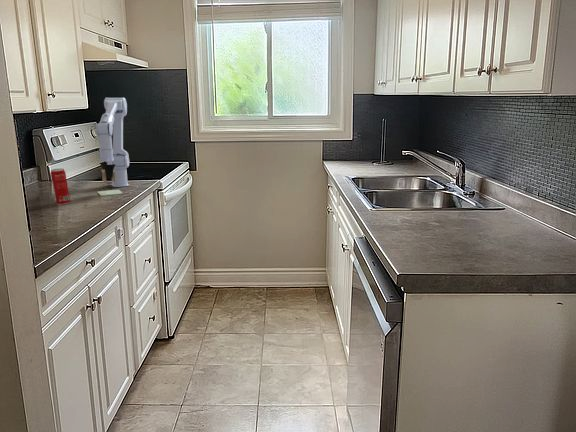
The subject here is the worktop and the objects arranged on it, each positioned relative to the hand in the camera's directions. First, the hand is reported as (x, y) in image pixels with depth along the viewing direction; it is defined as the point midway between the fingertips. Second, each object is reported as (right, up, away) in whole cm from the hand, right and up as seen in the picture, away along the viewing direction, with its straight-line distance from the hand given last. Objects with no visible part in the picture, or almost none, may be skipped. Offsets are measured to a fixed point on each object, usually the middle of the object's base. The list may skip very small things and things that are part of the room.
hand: (108, 178), depth 234 cm
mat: (0, -7, +2) cm, 7 cm away
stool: (0, -2, +1) cm, 2 cm away
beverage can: (-13, -13, -19) cm, 27 cm away
